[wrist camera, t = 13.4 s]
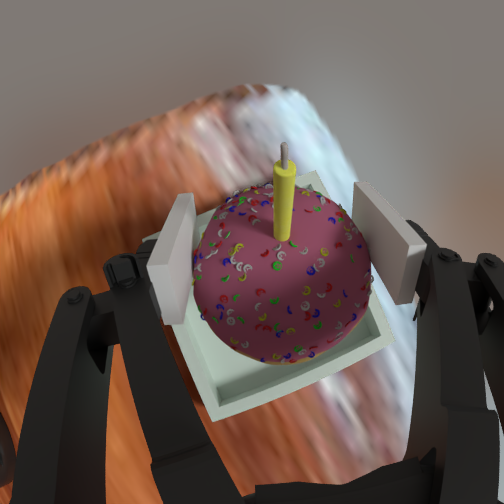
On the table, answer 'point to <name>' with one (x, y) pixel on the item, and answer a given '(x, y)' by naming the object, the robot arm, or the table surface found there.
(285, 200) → the cupcake
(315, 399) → the table surface
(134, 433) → the table surface
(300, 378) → the tray
